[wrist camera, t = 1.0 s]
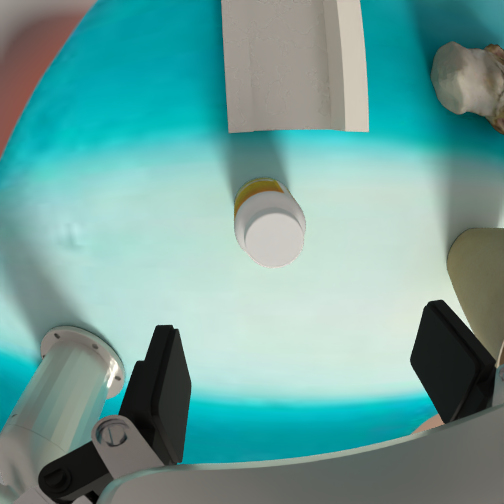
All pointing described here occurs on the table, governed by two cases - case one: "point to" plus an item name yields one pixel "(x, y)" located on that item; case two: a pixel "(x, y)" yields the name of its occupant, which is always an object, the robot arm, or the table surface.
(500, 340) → the plant pot
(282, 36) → the track
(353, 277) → the table surface
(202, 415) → the table surface
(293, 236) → the supplement bottle
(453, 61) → the ceramic sculpture
